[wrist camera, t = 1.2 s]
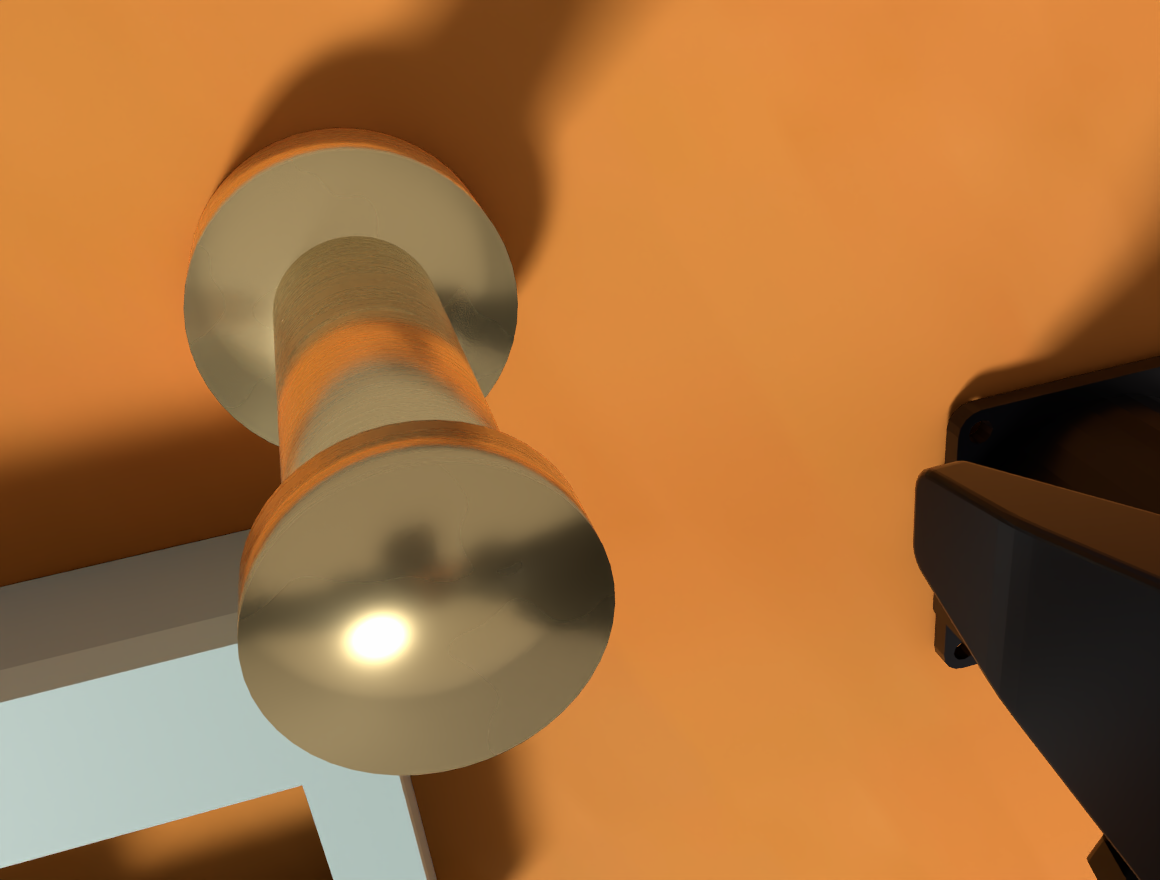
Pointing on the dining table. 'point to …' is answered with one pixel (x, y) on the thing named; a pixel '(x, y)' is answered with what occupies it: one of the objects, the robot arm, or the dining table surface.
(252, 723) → the keyhole plate
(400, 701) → the brass door knob
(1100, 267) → the dining table surface
